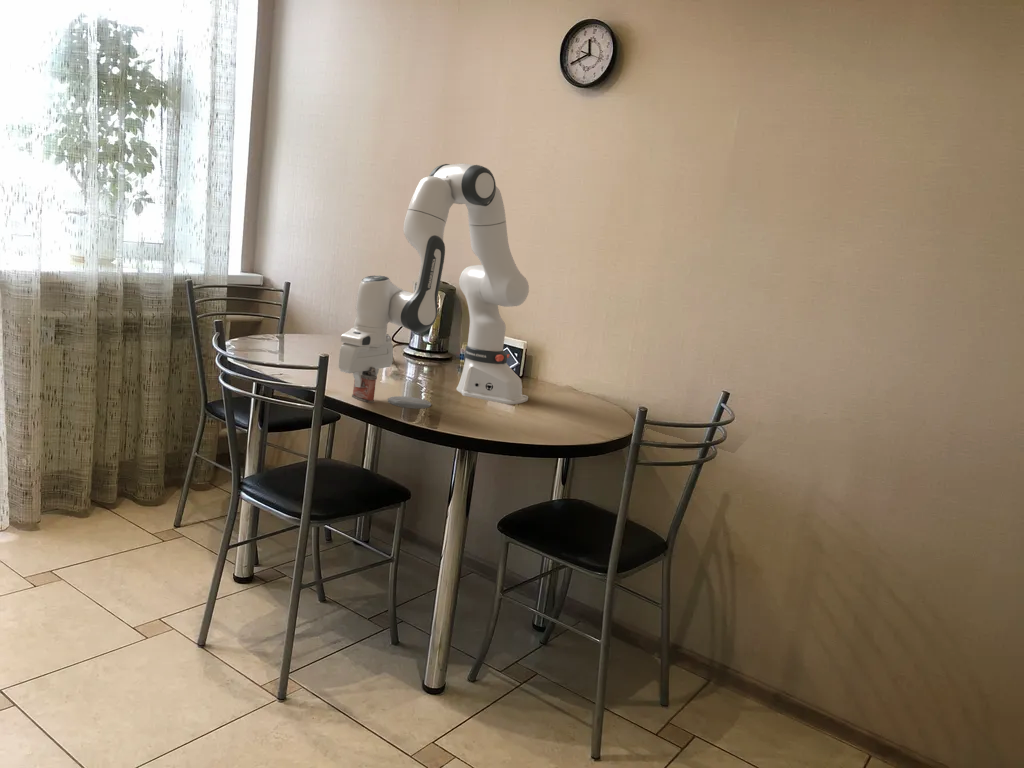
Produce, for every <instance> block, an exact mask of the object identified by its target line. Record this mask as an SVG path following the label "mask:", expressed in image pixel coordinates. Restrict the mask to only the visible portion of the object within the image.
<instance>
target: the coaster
mask: <svg viewBox="0 0 1024 768" xmlns="http://www.w3.org/2000/svg"><path fill="white" fill-rule="evenodd" d="M387 402H388V403H389V404H390V405H392V406H396V407H400V408H406V409H417V410H418V409H427V408H430V407H431V406H432V402H431V401H428V400H426V399H424V398H419V397H415V396H405V395H404V396H403V395H401V396H400V395H398V396H390V397H388V398H387Z"/></svg>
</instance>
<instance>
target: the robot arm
mask: <svg viewBox="0 0 1024 768" xmlns="http://www.w3.org/2000/svg"><path fill="white" fill-rule="evenodd" d="M454 204H457V205H465V206H466V208H467V217H468V219H467V220H468V228H469V229H468V231H469V239H470V241H469V242H470V247H471V251H472V253H473V254H474V255H475V256H476V257H477V259H478V260H479V262H480V264H475V265H469V266H467V267H465V268H464V269H463V270H462V272H461V274H460V275H459V280H458V283H459V289H460V291H461V292H462V294H463V295H464V297H465V300H466V303H467V307H468V308H467V309H468V314H469V315H468V316H469V329H468V336H467V337H468V339H467V344H466V346H465V350H464V358H463V364H464V365H463V368H462V373H461V376H460V378H459V379H460V380H459V382H458V385H457V386H456V391H457V392H459V393H460V394H461V395H462V396H463V397H469V398H473V399H478V400H479V399H480V400H483V401H484V400H485V401H490V402H496V403H501V404H506V405H516V404H517V405H518V404H522V403H524V402H528V400H529V396H528V395H525V394H524V393H523V383H522V379H521V378H520V377H519V376H518V375H517V374H516V373H515V371H514V370H513V369H512V367H510V366H509V365H508V363H507V361H508V359H509V358H510V355H511V354H509V353H508V354H507V353H506V352H505V351H504V346H505V337H506V330H507V329H506V328H507V327H506V323H505V321H504V319H503V318H502V317H501V314H500V311H499V307H503V308H507V307H509V308H510V307H511V308H513V307H518V306H521V305H522V304H523V303H524V302H526V300H527V298H528V296H529V292H530V286H529V281H528V280H527V278H526V277H525V276H524V275H523V274H522V273H521V271H520V270H519V268H518V266H517V264H516V262H515V260H514V258H513V255H512V252H511V248H510V245H509V237H508V236H509V235H508V228H507V217H506V210H505V205H504V200H503V197H502V193H501V190H500V189H499V187H497V184H496V180H495V177H494V175H493V173H492V171H491V170H490V169H489V168H487V167H484V166H483V165H480V164H471V163H470V164H469V163H463V162H462V163H454V164H452V163H451V164H450V163H444V164H440V165H438V166H436V167H434V169H433V170H432V171H431V172H430V174H429V176H425V177H423V178H421V179H420V181H419V182H418V184H417V186H416V188H415V189H414V191H413V194H412V197H411V199H410V202H409V205H408V207H407V211H406V214H405V218H404V221H403V230H402V231H403V235H404V237H405V239H406V240H407V242H408V243H409V244H410V246H411V247H413V248H414V250H415V251H416V252H417V254H418V256H419V258H420V259H419V260H420V266H419V270H418V277H417V282H416V286H415V291H414V292H410V291H408V290H403V289H402V288H400V287H398V285H396V284H394V283H393V282H392V281H391V280H390V277H388V276H384V275H370V276H369V275H367V276H365V277H363V278H362V279H361V281H360V282H359V285H358V289H357V293H356V302H355V309H356V310H355V312H356V316H355V319H354V322H353V327H351V328H350V329H349V330H348V331H346V332H344V333H342V334H341V335H340V342H341V343H342V344H341V345H340V347H339V354H338V369H339V371H340V372H341V373H342V372H343V373H345V374H352V375H353V379H355V387H363V382H364V381H362V379H361V375H362V372H363V371H368V370H369V369H370V367H374V368H375V372H372V373H371V374H373V375H375V376H377V377H378V374H379V370H380V369H385V368H386V369H387V368H390V367H391V366H392V365H393V361H394V360H393V358H394V345H393V342H392V337H391V336H390V334H388V333H387V332H388V331H387V330H388V323H391V324H394V325H397V326H398V327H402V328H405V329H407V330H409V331H412V332H414V333H417V334H419V333H420V334H421V333H424V332H426V331H428V330H429V329H431V327H433V325H434V324H435V322H436V320H437V317H438V297H439V290H440V286H441V279H442V274H443V269H444V262H445V255H446V246H445V242H444V234H445V227H446V224H447V221H448V217H449V212H450V209H451V207H452V206H453V205H454Z"/></svg>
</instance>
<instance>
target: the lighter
mask: <svg viewBox="0 0 1024 768" xmlns="http://www.w3.org/2000/svg"><path fill="white" fill-rule="evenodd" d="M372 372H375V368H374V367H370V369H369V370H368V371H363V372H362V375H361V379H362V381H364V382H363V387H355V379H354V378H353V379H354V380H353V390H352V394H351V398H353V399H355V400H357V401H360V402H362V403H363V402H364V403H368V404H373V403H375V399H374V398H375V391H376V382H377V380H378V375H377V376H375V375H373V374H371V373H372Z"/></svg>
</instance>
